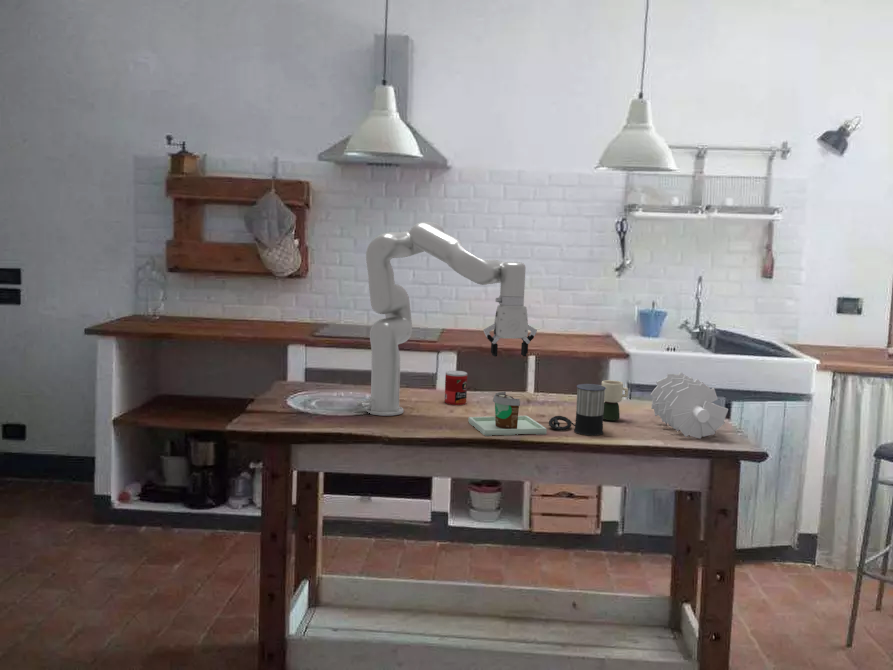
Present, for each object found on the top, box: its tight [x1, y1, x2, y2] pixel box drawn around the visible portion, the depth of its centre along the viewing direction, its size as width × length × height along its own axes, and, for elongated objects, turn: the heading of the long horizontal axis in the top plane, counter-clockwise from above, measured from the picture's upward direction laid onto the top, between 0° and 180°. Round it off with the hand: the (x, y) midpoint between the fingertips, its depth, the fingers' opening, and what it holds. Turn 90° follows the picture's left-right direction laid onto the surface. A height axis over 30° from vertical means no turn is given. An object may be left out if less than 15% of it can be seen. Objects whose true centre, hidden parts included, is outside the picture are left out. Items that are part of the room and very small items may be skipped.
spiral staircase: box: [650, 371, 729, 440], centre depth 302 cm, size 18×18×25 cm
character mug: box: [601, 379, 629, 421], centre depth 315 cm, size 11×7×13 cm, turn 94°
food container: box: [492, 391, 521, 429], centre depth 298 cm, size 12×6×10 cm, turn 19°
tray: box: [468, 415, 547, 437], centre depth 299 cm, size 20×18×2 cm
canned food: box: [444, 370, 468, 406], centre depth 334 cm, size 8×8×11 cm
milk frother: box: [548, 383, 606, 436], centre depth 298 cm, size 14×16×15 cm
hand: (509, 355), depth 296 cm, fingers open, 9 cm apart
